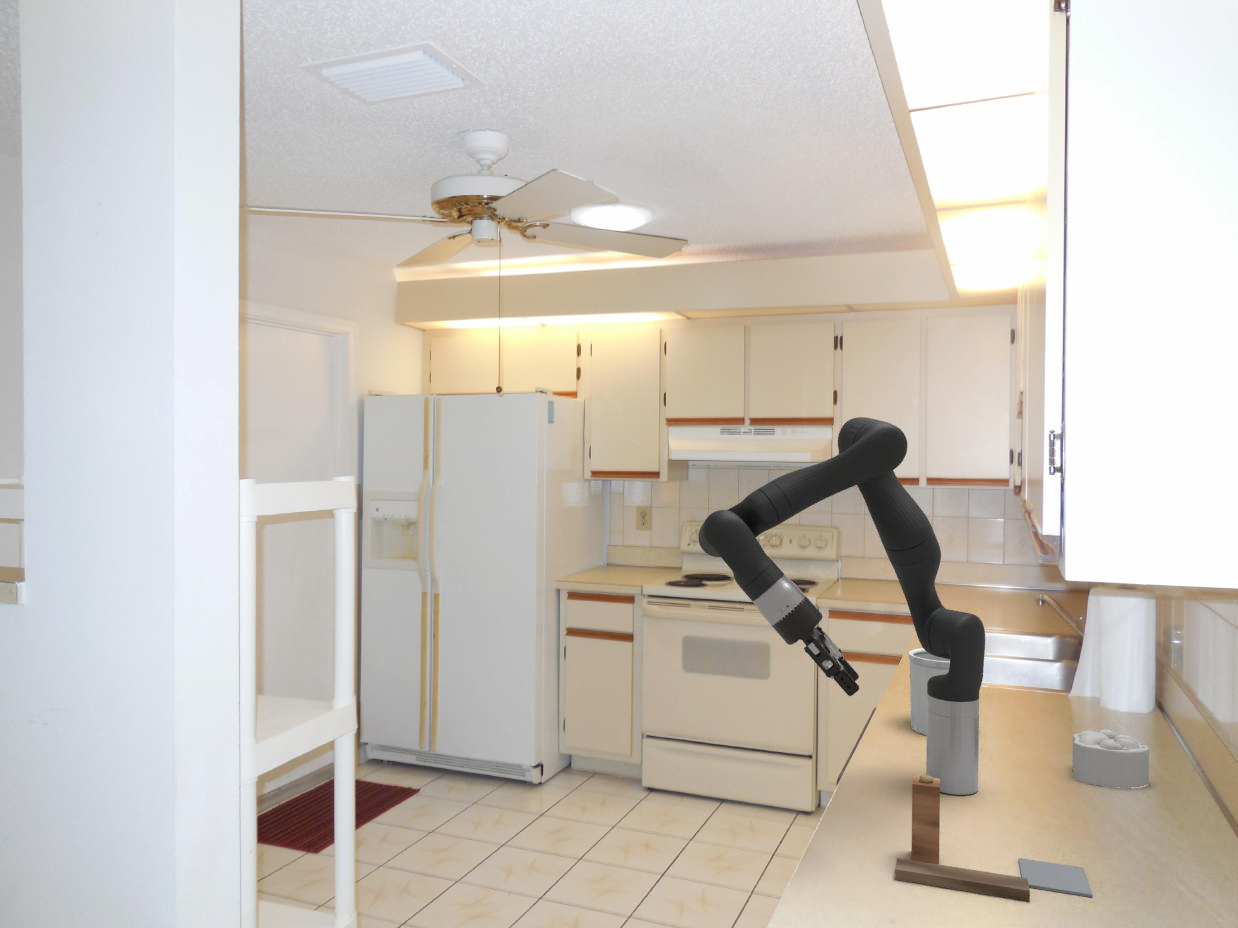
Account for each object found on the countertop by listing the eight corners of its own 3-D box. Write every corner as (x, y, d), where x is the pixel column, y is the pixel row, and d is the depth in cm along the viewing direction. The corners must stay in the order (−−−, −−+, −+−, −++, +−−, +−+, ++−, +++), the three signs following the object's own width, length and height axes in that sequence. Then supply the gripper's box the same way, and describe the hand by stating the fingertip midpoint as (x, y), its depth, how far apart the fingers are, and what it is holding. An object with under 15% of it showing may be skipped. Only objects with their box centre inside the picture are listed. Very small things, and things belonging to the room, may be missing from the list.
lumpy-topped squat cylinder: (1071, 765, 182) (1072, 723, 182) (1145, 775, 176) (1146, 732, 176) (1073, 782, 172) (1074, 737, 172) (1151, 793, 167) (1152, 747, 167)
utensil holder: (907, 736, 200) (908, 657, 200) (907, 718, 214) (908, 644, 214) (978, 743, 195) (979, 663, 195) (974, 724, 210) (975, 649, 209)
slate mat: (1018, 860, 138) (1018, 857, 138) (1083, 869, 135) (1083, 867, 135) (1023, 886, 130) (1023, 883, 130) (1092, 897, 127) (1092, 894, 127)
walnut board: (896, 867, 135) (896, 857, 135) (1027, 888, 129) (1027, 877, 129) (895, 879, 132) (895, 868, 132) (1029, 901, 125) (1029, 890, 125)
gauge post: (912, 850, 141) (913, 771, 141) (939, 854, 140) (940, 774, 140) (911, 861, 138) (912, 779, 137) (939, 865, 136) (940, 783, 136)
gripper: (802, 600, 141) (874, 681, 138) (806, 589, 154) (871, 663, 152) (766, 630, 142) (836, 711, 139) (773, 617, 156) (837, 690, 153)
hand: (855, 686), depth 145 cm, fingers open, 8 cm apart
